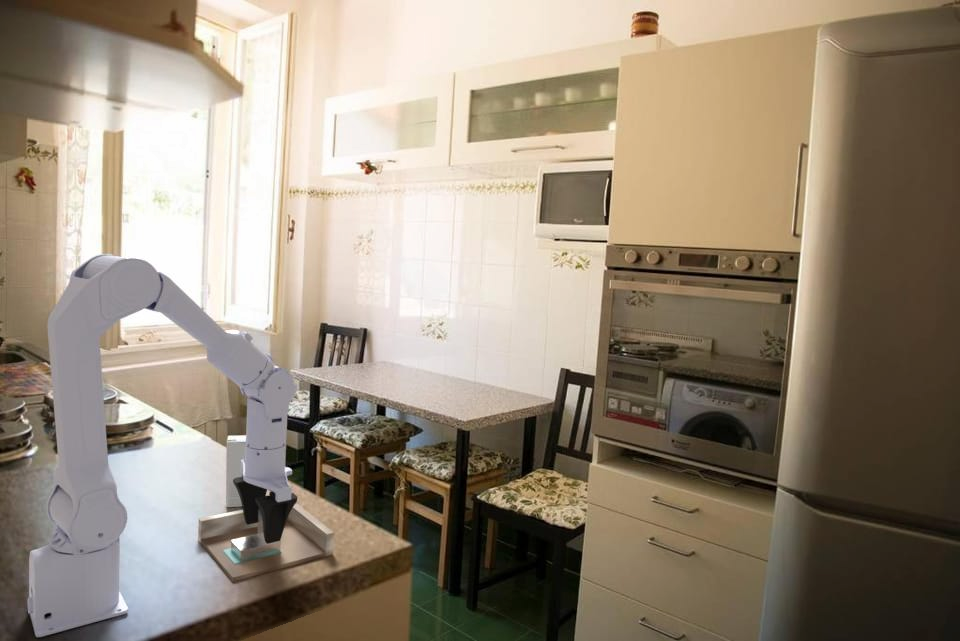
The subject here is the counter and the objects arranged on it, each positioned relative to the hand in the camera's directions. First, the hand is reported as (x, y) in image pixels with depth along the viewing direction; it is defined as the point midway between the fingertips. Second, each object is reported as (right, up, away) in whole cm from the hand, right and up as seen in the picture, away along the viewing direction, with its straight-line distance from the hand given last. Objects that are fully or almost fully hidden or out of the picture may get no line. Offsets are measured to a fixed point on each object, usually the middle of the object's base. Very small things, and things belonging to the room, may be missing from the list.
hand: (262, 531), depth 97 cm
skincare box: (-10, -1, +18) cm, 21 cm away
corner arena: (0, -3, +1) cm, 4 cm away
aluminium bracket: (-1, -3, 0) cm, 3 cm away
